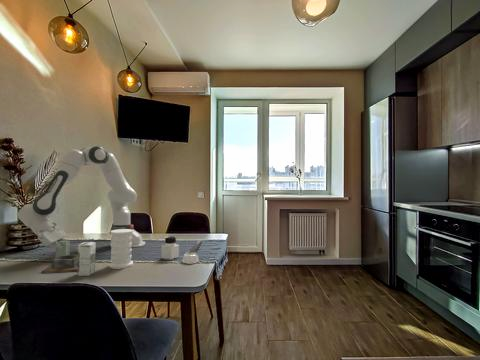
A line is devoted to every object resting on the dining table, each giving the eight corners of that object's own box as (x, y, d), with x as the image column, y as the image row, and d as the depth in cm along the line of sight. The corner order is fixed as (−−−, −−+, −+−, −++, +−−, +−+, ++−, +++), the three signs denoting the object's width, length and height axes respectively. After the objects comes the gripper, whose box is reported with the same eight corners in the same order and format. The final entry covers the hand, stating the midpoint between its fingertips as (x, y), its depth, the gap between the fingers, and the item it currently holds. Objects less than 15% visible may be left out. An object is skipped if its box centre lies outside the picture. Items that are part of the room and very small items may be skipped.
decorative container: (109, 270, 142) (110, 233, 142) (108, 264, 153) (108, 229, 153) (134, 267, 148) (135, 231, 148) (131, 261, 158) (132, 228, 158)
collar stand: (89, 262, 156) (89, 252, 156) (78, 271, 140) (78, 260, 140) (56, 263, 153) (56, 253, 153) (41, 272, 137) (41, 262, 137)
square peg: (69, 258, 163) (69, 240, 163) (65, 260, 158) (66, 242, 158) (59, 258, 162) (59, 240, 162) (55, 260, 157) (56, 242, 158)
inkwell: (178, 262, 156) (178, 244, 156) (195, 255, 173) (195, 238, 173) (193, 264, 153) (193, 245, 153) (209, 256, 170) (209, 239, 170)
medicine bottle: (179, 257, 168) (179, 236, 168) (171, 260, 162) (171, 238, 162) (169, 255, 171) (169, 235, 171) (161, 258, 165) (161, 237, 165)
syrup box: (82, 272, 138) (82, 241, 138) (95, 272, 139) (95, 241, 139) (76, 276, 133) (77, 244, 133) (90, 276, 133) (90, 244, 133)
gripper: (40, 228, 149) (60, 246, 151) (57, 222, 169) (75, 239, 171) (30, 237, 148) (51, 255, 150) (48, 230, 168) (66, 246, 170)
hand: (64, 246), depth 161 cm, fingers closed on square peg, 5 cm apart
